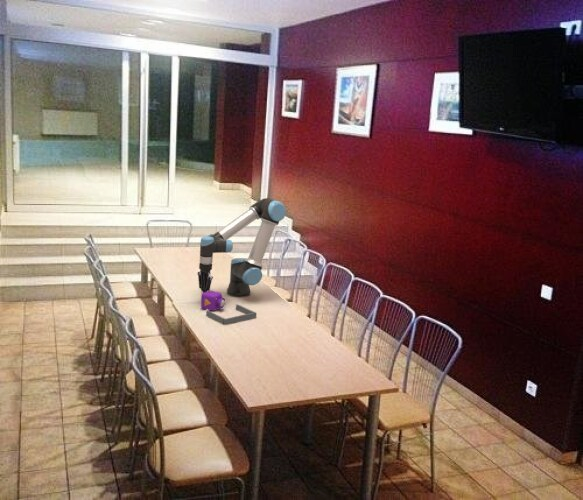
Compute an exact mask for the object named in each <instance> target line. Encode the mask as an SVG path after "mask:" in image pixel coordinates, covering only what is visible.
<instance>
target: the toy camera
mask: <svg viewBox="0 0 583 500" xmlns="http://www.w3.org/2000/svg"><path fill="white" fill-rule="evenodd" d="M225 305H226V298H225V297H223V294H222V293H221V292H218V291H214V290H213V289H210V290H209V291H207V292H205V293H203V294H202V297H200V306H201V309H203V310H207V309H208V310H209V311H210V312H214V311H217V310H219V309H224V307H225Z"/></svg>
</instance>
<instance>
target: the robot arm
mask: <svg viewBox="0 0 583 500" xmlns="http://www.w3.org/2000/svg"><path fill="white" fill-rule="evenodd" d="M286 214H287V208H286V206H285V204H284V203H282V202H281V201H279V200H275V199H272V198H269V197H266V198H262V199H259V200H258V201H256V202H255V203H253V204H252V205H250V206H249V208H248V209H247V210H246V211H245V212H243V213H242V214H241V215H239V216H238V217H236V218H235V219H233V220H232V221H231V222H229V223H228V224H227V225H224V227H223V228H221V229H219V230H218V231H217V232H215V233H214V234H212V233H211V234H208V235H207V236H202V237H201V238H200V242H199V247H200V248H199V249H200V250H199V264H198V269H199V270H200V271H198V272H197V276H198V277H197V278H198V288H199V289H200V290H201V292H200V293H201V295H200V296H201V297H202V294H203V293H205V292H207V291H209V290H211V285H212V281H213V279H214V277H213V276H211V274H212V273H211V271H212V270H213V261H214V260H213V259H214V258H213V257H214V255H213V254H218V253H219V254H220V253H222V254H223V253H225V254H226V253H231V252H232V251H233V247H234V245H233V244H234V243H233V242H232V240H231V238H232V237H233V236H234V235H236V234H237V233H238V232H240V231H242V230H243V229H244V228H246V227H247V226H249V225H250V224H251V223H252V222H253V223H254V222H255V220H261V222H260V225H259V228H258V231H257V233H256V236H255V239H254V242H253V244H252V247H251V249H250V252H249V255H248V258H243V257H241V258H240V257H237V258H233V259H231V261H230V273H229V274H230V275H229V276H230V277H229V283H228V286H227V289H226V294H227V295H228V296H231V297H236V298H237V297H238V298H245V297H249V296H250V295H251V288H250V286H256V285H258V284H259V283H260V282H261V280H262V278H263V272H262V269H263V264H262V263H263V259H264V257H265V254H266V252H267V249H268V246H269V243H270V241H271V238H272V236H273V233H274V229H275V227H277V226H278V225H279V224H280V222H281V221H282V220H284V219H285V218H286ZM201 297H200V298H201Z"/></svg>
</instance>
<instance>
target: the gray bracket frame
mask: <svg viewBox="0 0 583 500" xmlns="http://www.w3.org/2000/svg"><path fill="white" fill-rule="evenodd" d="M235 310H236V311H238V312H240V313H243V314H241V315H237V316H236V315H235V316H232V317H231V316H230V317H227V318H225V317H223V316H221V315H218V314H217V313H214V312H213V311H211V310H208V309H205V316H206V317H207V318H210V319H212V320H213V321H216V322H217V323H219V324H221V325H224V326H226V325H229V324H235V323H239V322H244V321H249V320H252V319H257V312H256V311H254V310H251V309H249V308H247V307H244V306H242V305H240V304H239V303H235Z"/></svg>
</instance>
